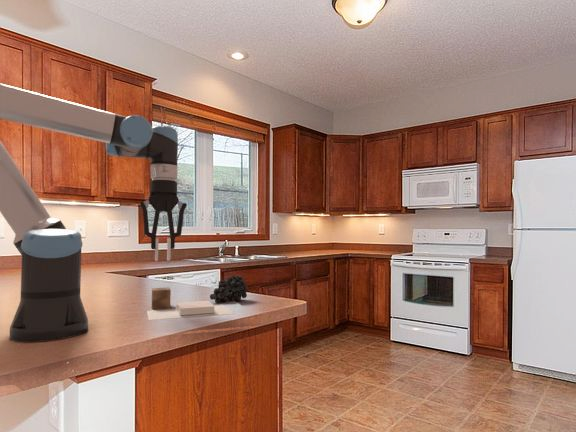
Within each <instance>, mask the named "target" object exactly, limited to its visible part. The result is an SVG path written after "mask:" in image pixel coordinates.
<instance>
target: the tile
mask: <svg viewBox="0 0 576 432" xmlns="http://www.w3.org/2000/svg"><path fill="white" fill-rule="evenodd" d="M214 306H215V305H213V304H212V302H210V301H209V300H201V301H200V300H199V301H184V302H176V309H177V310H178V312H179V314H180V315H181V316H190V315H203V314H213V313H214Z"/></svg>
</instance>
